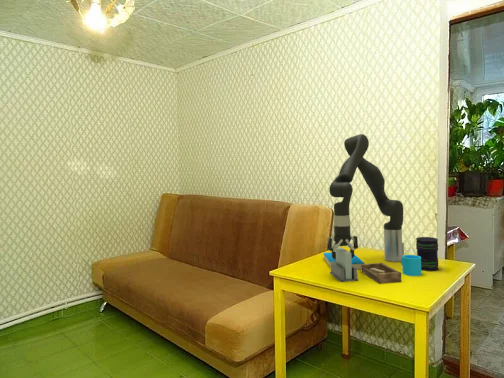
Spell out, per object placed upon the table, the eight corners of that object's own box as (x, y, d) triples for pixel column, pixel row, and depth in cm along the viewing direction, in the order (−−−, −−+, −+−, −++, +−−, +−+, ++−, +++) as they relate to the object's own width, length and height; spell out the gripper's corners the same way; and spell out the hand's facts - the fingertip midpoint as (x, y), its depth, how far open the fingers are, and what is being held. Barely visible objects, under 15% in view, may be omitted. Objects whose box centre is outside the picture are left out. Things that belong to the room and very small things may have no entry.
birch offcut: (373, 271, 170) (373, 267, 170) (384, 275, 163) (384, 271, 163) (369, 272, 169) (369, 268, 169) (380, 275, 162) (380, 271, 162)
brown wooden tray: (381, 270, 176) (381, 262, 175) (401, 281, 158) (401, 272, 158) (361, 272, 174) (361, 264, 174) (379, 283, 156) (378, 274, 156)
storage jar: (428, 265, 182) (428, 236, 182) (443, 269, 173) (442, 239, 172) (412, 267, 180) (411, 238, 179) (425, 272, 170) (425, 241, 170)
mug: (425, 275, 166) (424, 257, 165) (409, 276, 164) (409, 259, 164) (409, 268, 178) (408, 252, 177) (394, 270, 176) (394, 253, 176)
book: (332, 264, 179) (322, 252, 204) (332, 272, 179) (322, 259, 204) (365, 262, 179) (352, 251, 204) (366, 270, 179) (352, 258, 204)
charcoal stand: (346, 272, 175) (346, 260, 175) (358, 280, 162) (357, 267, 161) (330, 273, 174) (329, 261, 174) (340, 282, 161) (340, 269, 160)
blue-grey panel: (342, 271, 174) (341, 247, 174) (352, 278, 162) (351, 252, 162) (336, 272, 174) (335, 247, 173) (345, 279, 162) (345, 253, 161)
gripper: (353, 222, 171) (354, 255, 172) (324, 224, 170) (325, 257, 171) (359, 224, 164) (360, 259, 165) (330, 226, 162) (331, 261, 163)
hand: (343, 258), depth 168 cm, fingers open, 8 cm apart
